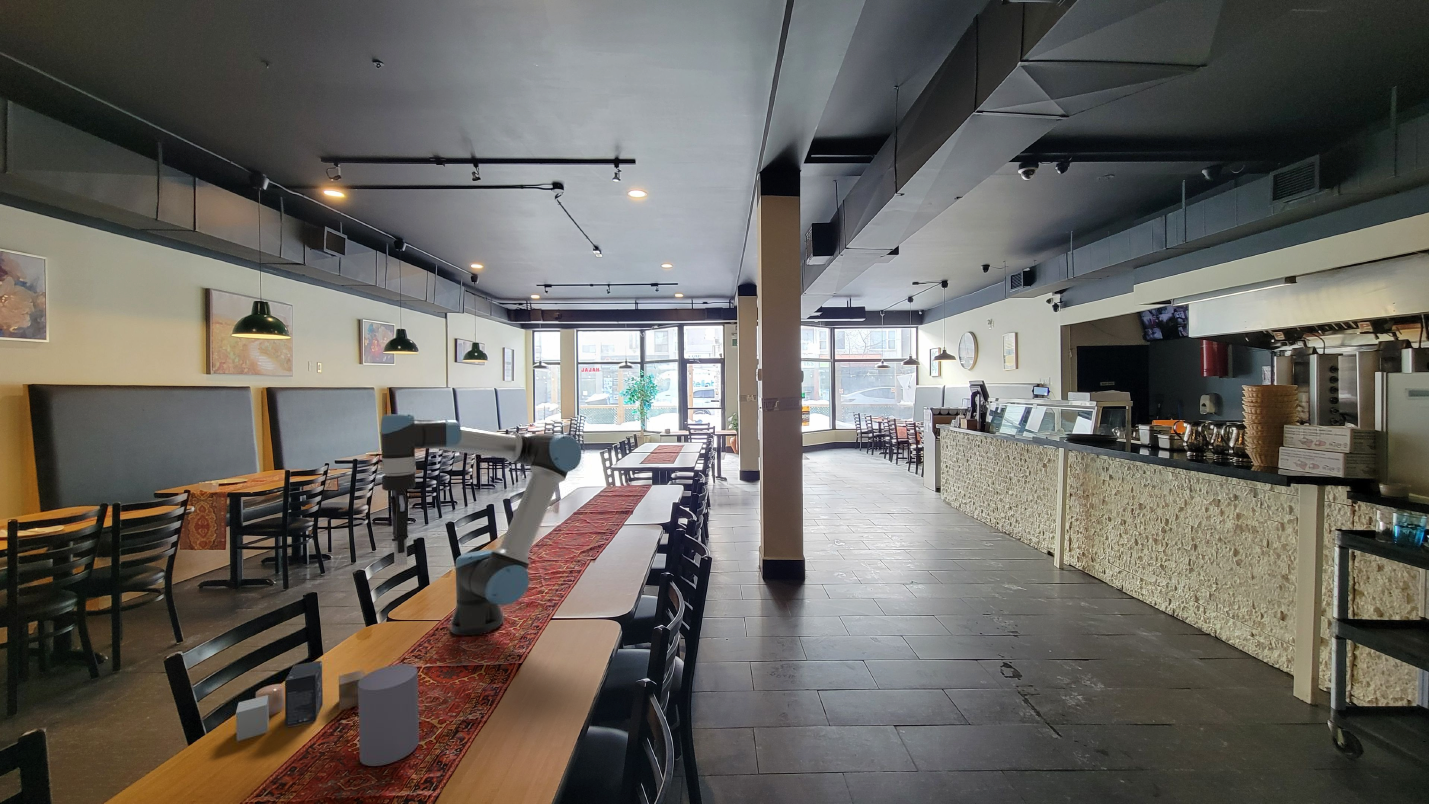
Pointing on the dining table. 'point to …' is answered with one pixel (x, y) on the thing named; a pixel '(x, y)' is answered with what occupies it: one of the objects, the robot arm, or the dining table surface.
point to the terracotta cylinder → (273, 697)
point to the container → (388, 714)
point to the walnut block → (349, 689)
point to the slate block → (252, 717)
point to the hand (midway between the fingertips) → (400, 564)
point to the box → (303, 693)
